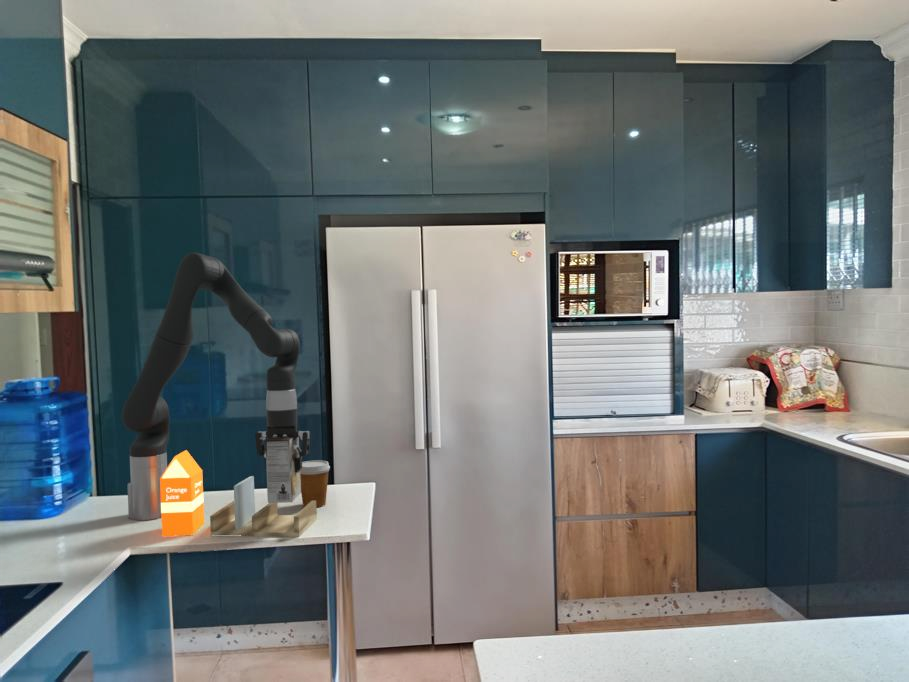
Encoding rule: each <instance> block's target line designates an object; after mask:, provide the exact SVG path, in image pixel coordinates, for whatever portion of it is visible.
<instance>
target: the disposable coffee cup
mask: <svg viewBox="0 0 909 682" xmlns="http://www.w3.org/2000/svg"><path fill="white" fill-rule="evenodd" d="M329 464H330V463H329V461H326V460H321V459H318V460H307V461H302V469H301V470H300V476H301V493H300V494H301V500H302V506H303V508H304V507H305V506H306V505H307V504H308V503H310V502H311V501H312V500H315V501H316V507H318V508H321V507H320V506H322V507H324V506H326V503H327V491H328V480H329V471H330V469H331V466H330V465H329ZM323 505H324V506H323Z"/></svg>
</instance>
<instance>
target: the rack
mask: <svg viewBox="0 0 909 682" xmlns="http://www.w3.org/2000/svg"><path fill="white" fill-rule="evenodd" d="M278 506H279V505H278V503H268V504H266V505H265V506H263V507H262V508H261V509H259V510H258V511H257V512H255V514H254V515H253V516H252V520H251V521H250V522H248V523H247V524H246V525H244V526H243V527H242V528H241V529H239V530H235V507H234V500H232V501H231V502H230V503H227V505H225V506H224V507H222V508H220V509H218V510H217V511H216V512H214V513H213V514H210V516H209V519H210V523H209V525H210V536H211V535H241V536H240V537H271V536H276V537H277V538H278V537H281V538H282V537H287V538H288V537H289V538H291V537H292V538H293V537H295V538H298V537H301V536H302V534H303V533H304V532H306V531H307V530H308V529H309V528H310V527H311V526H312V525H313V523H314V522H316V521H317V519H318V514H317V513H318V512H317V511H318V510H317V508H316V501H315V500H312V501H311V502H310V503H308V504H307V505H306V506H305V507H304V506H303V508H302V509H301V510H299V511H298V512H297V513H296V514H294V515H293V514H291V515H290V514H279V512H278V511H279V510H278V508H279V507H278Z"/></svg>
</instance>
